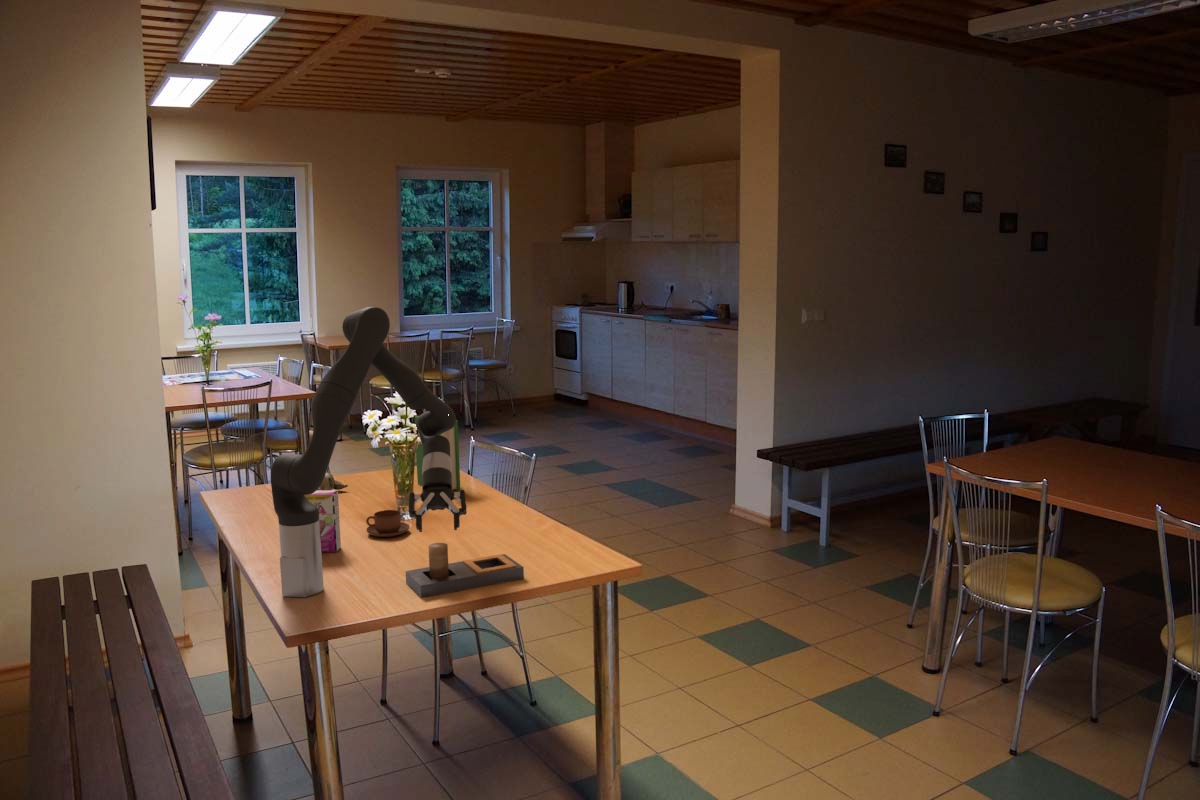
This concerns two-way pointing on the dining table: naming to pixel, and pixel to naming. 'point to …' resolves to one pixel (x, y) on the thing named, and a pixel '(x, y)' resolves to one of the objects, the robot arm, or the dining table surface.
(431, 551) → the walnut peg
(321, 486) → the ceramic sculpture
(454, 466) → the hardback book
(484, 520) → the dining table surface
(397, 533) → the cup and saucer
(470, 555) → the dining table surface
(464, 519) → the dining table surface
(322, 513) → the candy bar box
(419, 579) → the grey peg board
